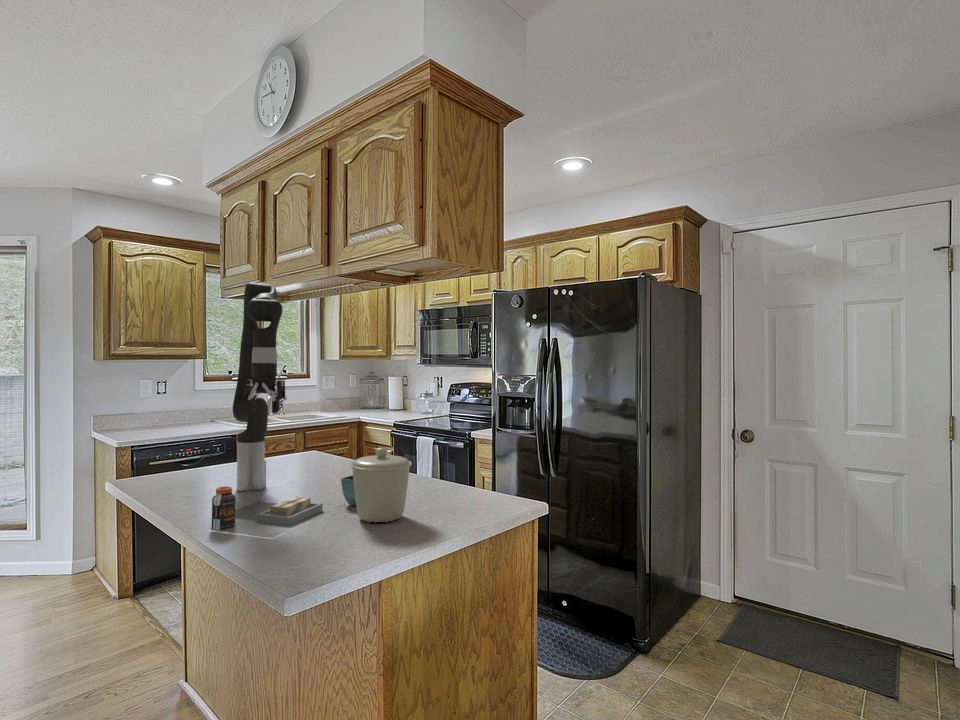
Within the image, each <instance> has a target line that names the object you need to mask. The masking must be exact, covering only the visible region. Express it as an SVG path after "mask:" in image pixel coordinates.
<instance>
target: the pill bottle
mask: <svg viewBox="0 0 960 720" xmlns="http://www.w3.org/2000/svg"><path fill="white" fill-rule="evenodd" d="M215 493H216V495H214V496H212V499H211V529H212V530H213V531H216V532H219V531H224V530H230V529H232V528H234V527H236V518H235V510H236V496H235V494H233V487H232V486H228V485H227V486H219V487H216V489H215Z"/></svg>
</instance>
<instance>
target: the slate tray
mask: <svg viewBox="0 0 960 720" xmlns="http://www.w3.org/2000/svg"><path fill="white" fill-rule="evenodd" d="M321 512H323V503H317V502H310V508H308V509H306V510H303V511H301V512H299V513H296V514H294V515H292V516H280V515H271V509H269V510H267V511H264V512H262V513H259V514H257V521H256V522H257V523H264V524H273V525H280V526H287V527H291V526H293V525H296V524H298V523H300V522H301V521H303V520H306V519H308V518H310V517H313V516H315V515H317V514H319V513H321Z"/></svg>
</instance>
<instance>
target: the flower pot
mask: <svg viewBox="0 0 960 720" xmlns="http://www.w3.org/2000/svg"><path fill="white" fill-rule="evenodd" d="M340 481H341V489H342V494H343V496H344V499H345V501H346V502H347V504H348V505H349V504H351V505H350V506H354V505H356V500H355V491H354V481H353V474H352V475H348V476H344V477H341V478H340Z"/></svg>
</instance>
